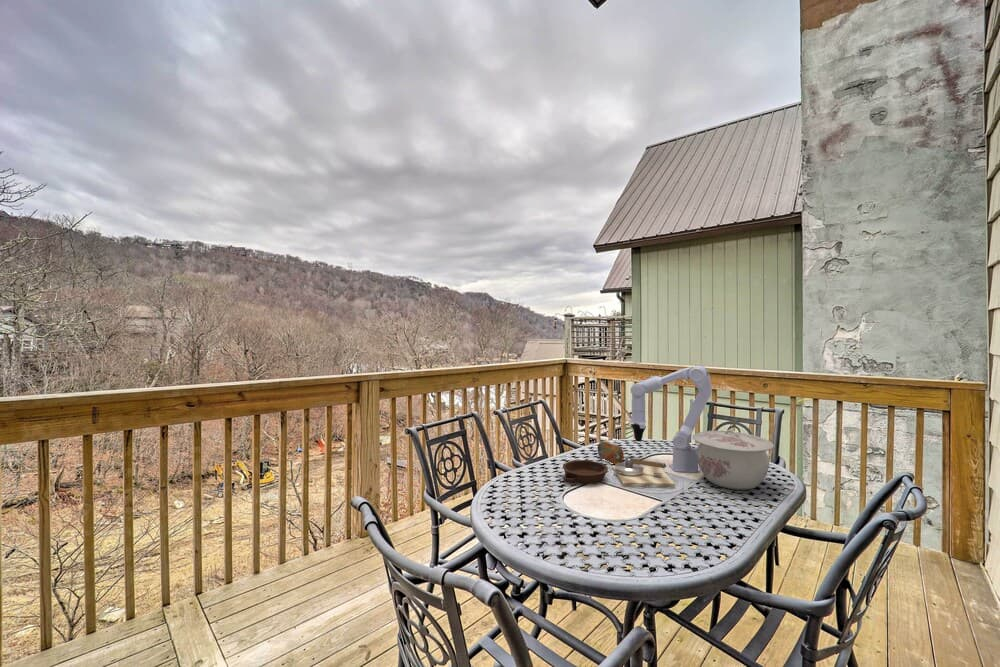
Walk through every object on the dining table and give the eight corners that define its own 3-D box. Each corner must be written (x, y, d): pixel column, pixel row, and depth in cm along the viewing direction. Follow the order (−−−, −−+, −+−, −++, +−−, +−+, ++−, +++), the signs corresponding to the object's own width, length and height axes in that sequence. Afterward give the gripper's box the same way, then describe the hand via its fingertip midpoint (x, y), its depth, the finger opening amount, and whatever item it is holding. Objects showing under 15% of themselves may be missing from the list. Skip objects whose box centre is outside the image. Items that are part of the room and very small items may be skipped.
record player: (658, 469, 181) (658, 465, 181) (674, 487, 161) (674, 483, 161) (612, 469, 182) (612, 465, 182) (623, 486, 162) (623, 482, 162)
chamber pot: (771, 504, 146) (771, 443, 146) (684, 486, 162) (685, 431, 162) (776, 479, 169) (776, 427, 168) (700, 466, 185) (700, 418, 184)
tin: (597, 457, 197) (597, 439, 197) (602, 456, 199) (602, 438, 198) (619, 467, 184) (619, 447, 183) (625, 466, 185) (625, 447, 185)
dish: (619, 478, 172) (619, 465, 172) (586, 492, 157) (586, 479, 157) (584, 467, 185) (584, 455, 185) (549, 480, 170) (549, 467, 170)
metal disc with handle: (612, 473, 171) (612, 460, 171) (617, 465, 181) (617, 452, 181) (664, 481, 163) (664, 467, 163) (667, 472, 172) (667, 459, 172)
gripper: (625, 406, 197) (625, 436, 198) (633, 413, 183) (633, 445, 183) (641, 407, 197) (640, 436, 197) (650, 413, 182) (650, 445, 183)
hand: (638, 440), depth 190 cm, fingers closed
